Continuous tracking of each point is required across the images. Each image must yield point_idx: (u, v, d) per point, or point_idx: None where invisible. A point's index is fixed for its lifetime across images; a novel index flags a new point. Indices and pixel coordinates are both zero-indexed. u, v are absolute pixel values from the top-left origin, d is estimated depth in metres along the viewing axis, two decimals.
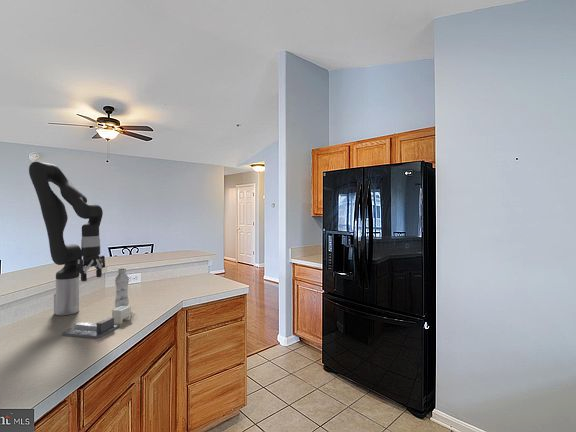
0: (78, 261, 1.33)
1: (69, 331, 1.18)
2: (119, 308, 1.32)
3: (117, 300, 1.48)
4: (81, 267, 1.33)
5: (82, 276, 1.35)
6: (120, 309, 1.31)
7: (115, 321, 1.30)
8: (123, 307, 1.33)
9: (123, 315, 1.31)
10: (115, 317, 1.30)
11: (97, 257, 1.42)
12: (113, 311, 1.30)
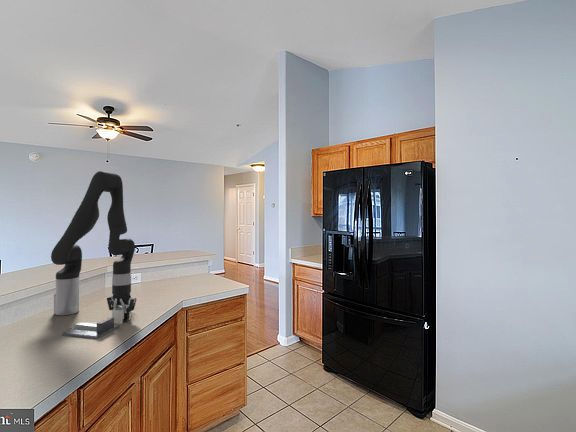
0: (134, 300, 1.31)
1: (69, 331, 1.18)
2: (119, 308, 1.32)
3: None
4: None
5: (128, 315, 1.32)
6: (120, 309, 1.31)
7: (115, 321, 1.30)
8: None
9: (123, 315, 1.31)
10: (115, 317, 1.30)
11: None
12: (113, 311, 1.30)
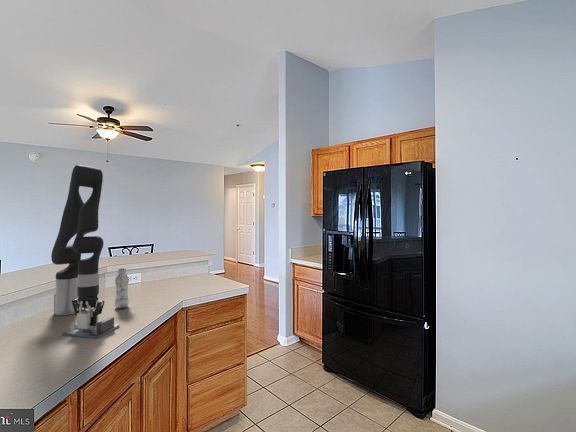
0: (101, 303, 1.21)
1: (69, 331, 1.18)
2: (85, 311, 1.21)
3: (117, 300, 1.48)
4: None
5: (95, 319, 1.22)
6: (86, 313, 1.20)
7: (80, 326, 1.19)
8: None
9: (89, 319, 1.20)
10: (80, 321, 1.19)
11: None
12: (78, 315, 1.19)
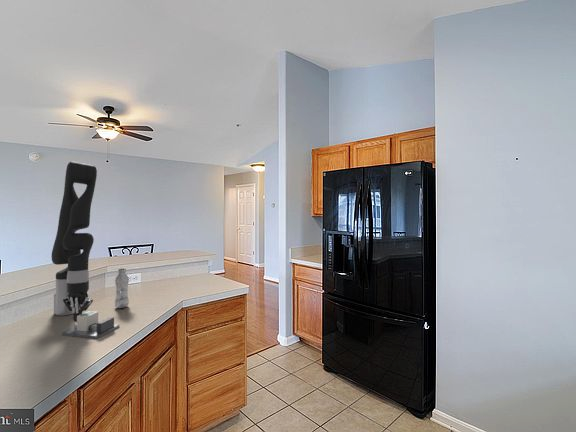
0: (89, 302, 1.21)
1: (69, 331, 1.18)
2: (85, 314, 1.21)
3: (117, 300, 1.48)
4: None
5: None
6: (86, 315, 1.20)
7: (80, 328, 1.19)
8: (90, 313, 1.23)
9: (89, 321, 1.20)
10: (80, 324, 1.19)
11: None
12: (78, 317, 1.19)
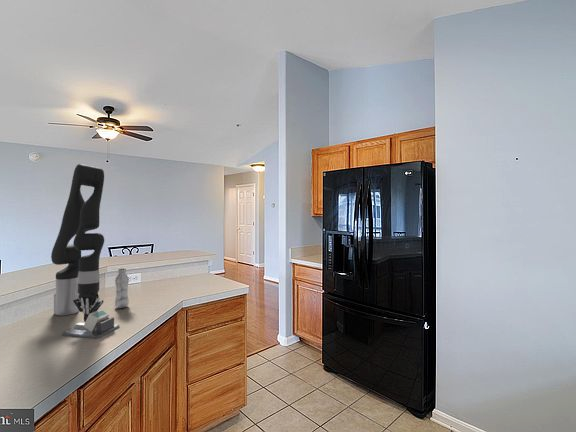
0: (100, 303, 1.20)
1: (69, 331, 1.18)
2: (97, 314, 1.20)
3: (117, 300, 1.48)
4: None
5: None
6: (97, 316, 1.19)
7: (87, 326, 1.18)
8: (101, 313, 1.22)
9: None
10: (89, 322, 1.18)
11: None
12: (89, 316, 1.18)
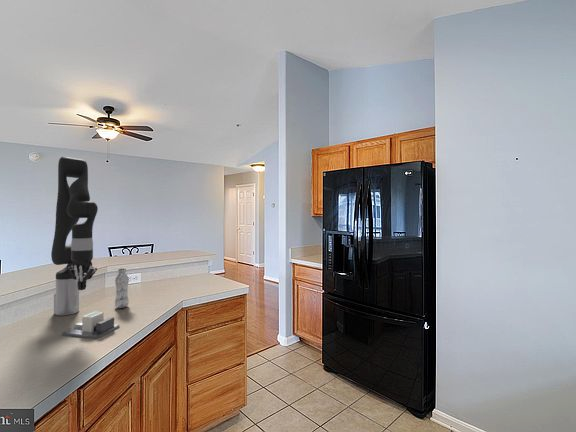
0: (94, 270, 1.21)
1: (69, 331, 1.18)
2: (90, 314, 1.21)
3: (117, 300, 1.48)
4: None
5: (85, 284, 1.22)
6: (91, 316, 1.19)
7: (85, 329, 1.19)
8: (95, 313, 1.22)
9: (95, 322, 1.20)
10: (85, 324, 1.19)
11: None
12: (83, 318, 1.19)
